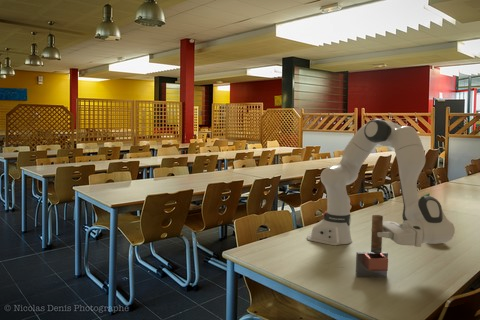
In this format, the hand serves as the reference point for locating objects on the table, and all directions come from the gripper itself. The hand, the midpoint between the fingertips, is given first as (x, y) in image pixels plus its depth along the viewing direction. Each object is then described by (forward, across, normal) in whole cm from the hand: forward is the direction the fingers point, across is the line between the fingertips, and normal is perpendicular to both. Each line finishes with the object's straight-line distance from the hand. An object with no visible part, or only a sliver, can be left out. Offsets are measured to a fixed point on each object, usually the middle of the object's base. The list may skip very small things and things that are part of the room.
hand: (374, 232), depth 150 cm
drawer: (-1, 0, +19) cm, 19 cm away
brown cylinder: (-1, 0, +8) cm, 8 cm away
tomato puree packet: (-55, -69, +19) cm, 90 cm away
